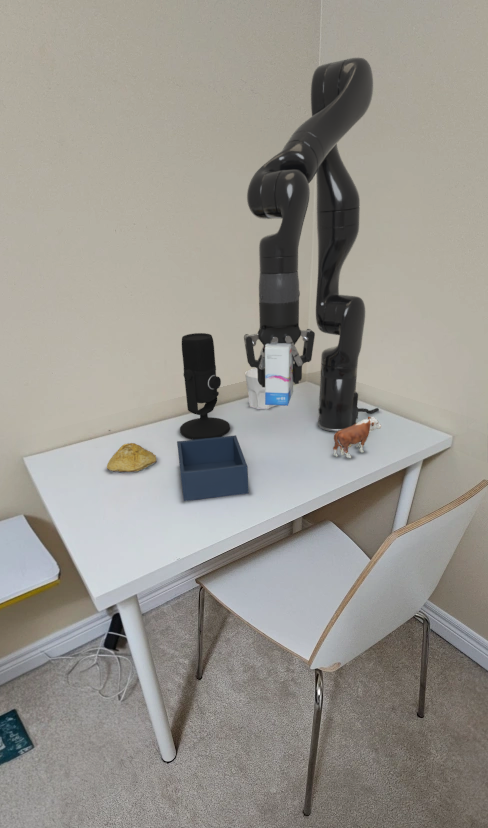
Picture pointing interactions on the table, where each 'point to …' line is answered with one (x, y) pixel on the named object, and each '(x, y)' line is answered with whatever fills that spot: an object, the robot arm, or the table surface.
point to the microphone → (201, 387)
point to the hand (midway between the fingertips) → (279, 384)
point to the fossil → (131, 459)
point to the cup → (255, 390)
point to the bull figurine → (354, 435)
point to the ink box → (278, 374)
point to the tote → (212, 468)
